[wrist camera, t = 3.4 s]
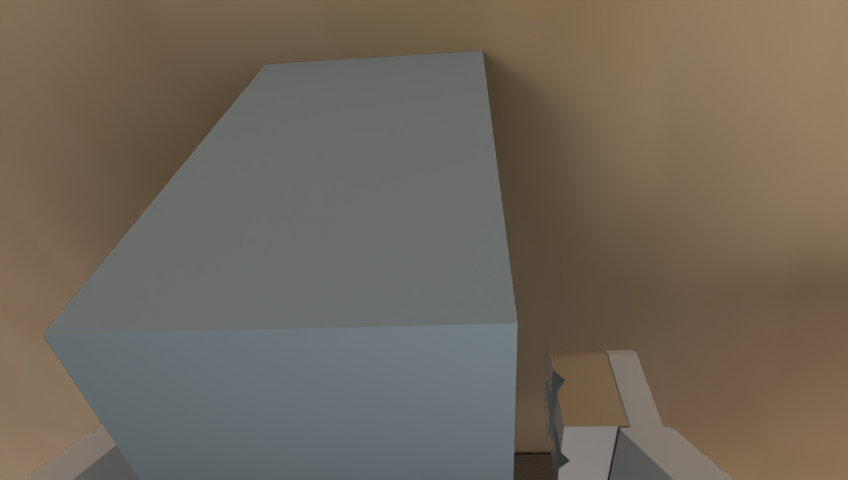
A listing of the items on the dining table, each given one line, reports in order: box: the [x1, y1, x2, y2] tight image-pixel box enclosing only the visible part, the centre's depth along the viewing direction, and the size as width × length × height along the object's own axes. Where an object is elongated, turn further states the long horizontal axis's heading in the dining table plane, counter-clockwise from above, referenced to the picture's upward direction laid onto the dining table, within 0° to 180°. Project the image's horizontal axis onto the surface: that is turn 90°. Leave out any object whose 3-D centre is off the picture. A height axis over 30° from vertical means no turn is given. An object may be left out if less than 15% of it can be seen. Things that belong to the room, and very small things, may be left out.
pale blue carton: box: [43, 51, 518, 480], centre depth 10 cm, size 4×10×7 cm, turn 4°
